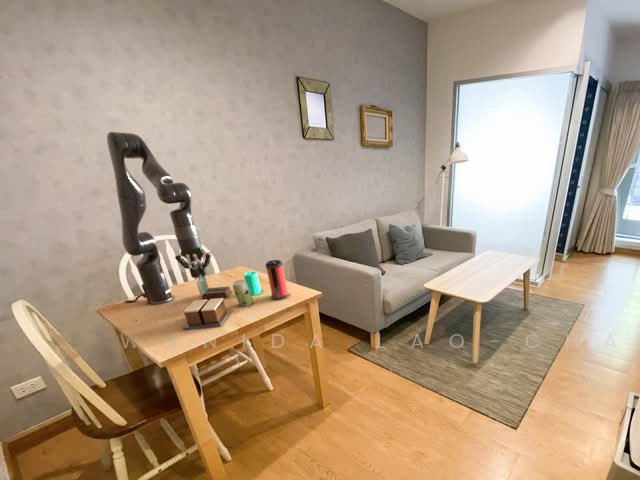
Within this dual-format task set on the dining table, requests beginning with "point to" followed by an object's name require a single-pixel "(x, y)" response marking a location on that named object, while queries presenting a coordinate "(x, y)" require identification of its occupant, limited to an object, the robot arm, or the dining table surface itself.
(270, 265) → the speaker
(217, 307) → the split wooden block
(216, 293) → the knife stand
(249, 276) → the candle
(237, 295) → the beverage can
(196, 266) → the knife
